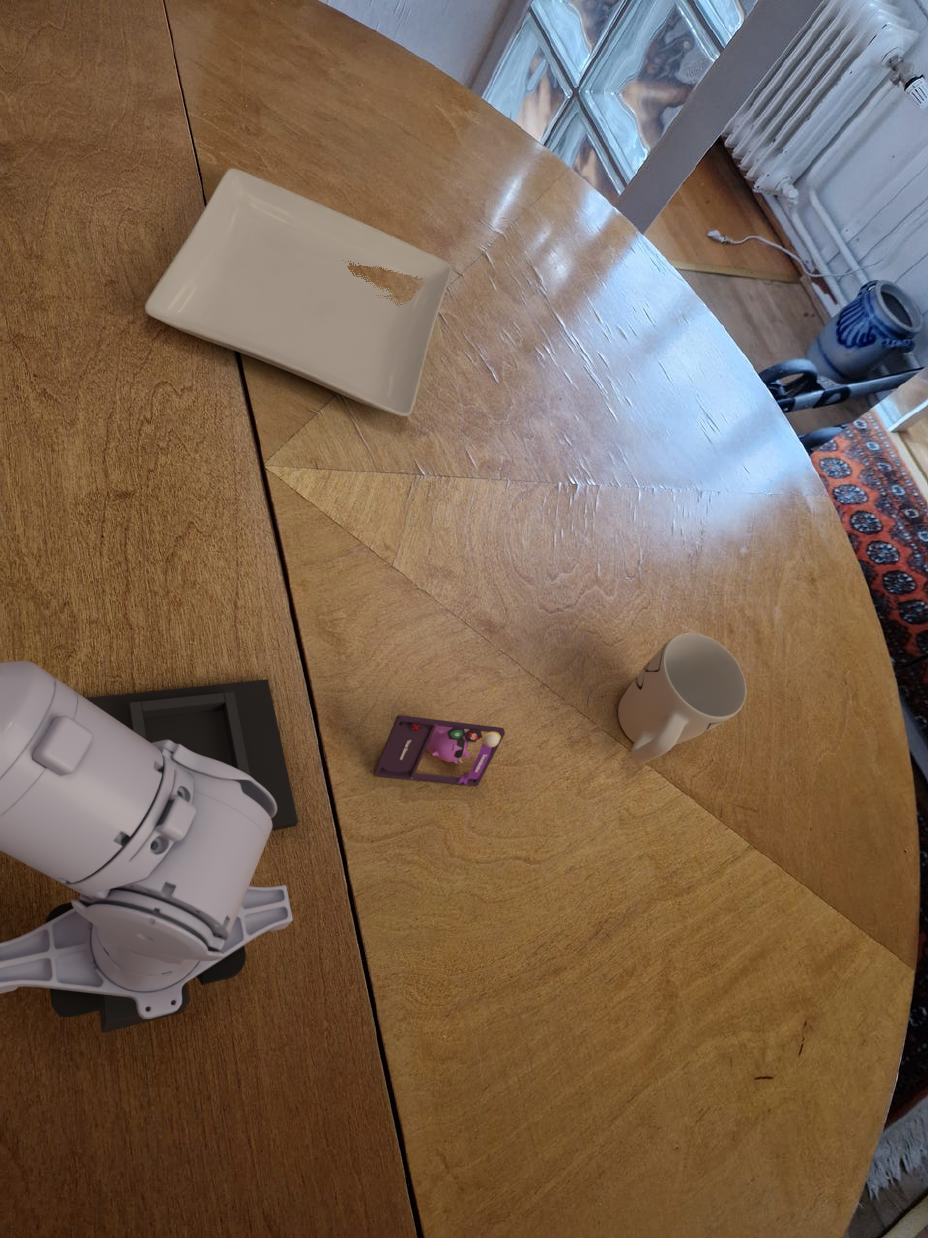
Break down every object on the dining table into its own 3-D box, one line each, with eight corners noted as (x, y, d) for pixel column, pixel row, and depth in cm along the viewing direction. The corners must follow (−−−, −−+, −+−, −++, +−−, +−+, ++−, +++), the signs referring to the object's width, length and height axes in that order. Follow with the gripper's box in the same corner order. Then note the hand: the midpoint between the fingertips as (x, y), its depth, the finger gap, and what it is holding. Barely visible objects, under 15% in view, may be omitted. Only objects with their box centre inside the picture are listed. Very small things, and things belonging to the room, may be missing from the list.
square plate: (444, 286, 107) (456, 260, 104) (399, 442, 92) (411, 416, 89) (225, 188, 102) (230, 157, 99) (137, 337, 86) (140, 305, 83)
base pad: (96, 862, 61) (98, 851, 59) (78, 703, 66) (79, 689, 64) (295, 826, 67) (302, 815, 65) (265, 684, 72) (271, 670, 70)
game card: (399, 725, 67) (507, 738, 70) (391, 678, 71) (495, 692, 74) (374, 783, 71) (479, 793, 74) (369, 735, 75) (468, 746, 78)
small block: (101, 1033, 52) (105, 1024, 49) (91, 929, 54) (93, 913, 51) (181, 1013, 54) (189, 1002, 51) (168, 913, 56) (174, 897, 53)
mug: (657, 805, 81) (722, 764, 73) (581, 751, 80) (638, 704, 73) (694, 715, 88) (757, 669, 80) (624, 665, 88) (680, 614, 80)
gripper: (-9, 1045, 37) (4, 1075, 48) (324, 961, 44) (270, 1004, 54) (-18, 878, 40) (-4, 942, 51) (296, 823, 47) (250, 890, 57)
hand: (137, 966), depth 53 cm, fingers closed on small block, 4 cm apart
